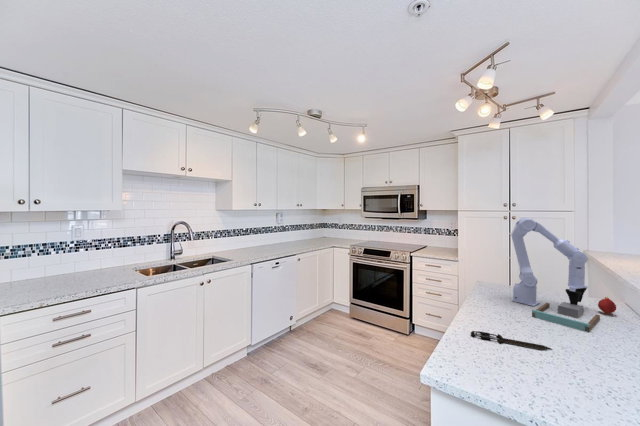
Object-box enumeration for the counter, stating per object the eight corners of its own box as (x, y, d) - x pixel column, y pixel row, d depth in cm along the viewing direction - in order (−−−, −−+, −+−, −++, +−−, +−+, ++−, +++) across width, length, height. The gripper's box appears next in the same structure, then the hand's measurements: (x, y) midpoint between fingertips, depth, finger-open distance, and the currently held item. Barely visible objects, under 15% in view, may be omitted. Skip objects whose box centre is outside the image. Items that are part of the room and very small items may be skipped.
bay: (531, 316, 124) (532, 310, 124) (546, 306, 136) (546, 300, 136) (588, 332, 109) (589, 324, 109) (599, 319, 120) (600, 312, 120)
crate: (557, 313, 128) (558, 305, 128) (563, 310, 132) (563, 301, 132) (577, 319, 122) (578, 310, 122) (583, 314, 126) (583, 306, 126)
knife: (552, 349, 97) (552, 345, 97) (555, 358, 92) (555, 354, 92) (471, 331, 111) (471, 328, 111) (470, 338, 106) (470, 334, 106)
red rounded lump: (607, 311, 129) (608, 295, 129) (619, 316, 123) (620, 299, 123) (594, 311, 130) (594, 294, 129) (605, 316, 124) (606, 299, 123)
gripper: (584, 279, 124) (583, 309, 125) (591, 274, 133) (590, 302, 133) (563, 276, 130) (563, 304, 131) (572, 272, 138) (571, 298, 139)
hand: (575, 303), depth 132 cm, fingers open, 7 cm apart
